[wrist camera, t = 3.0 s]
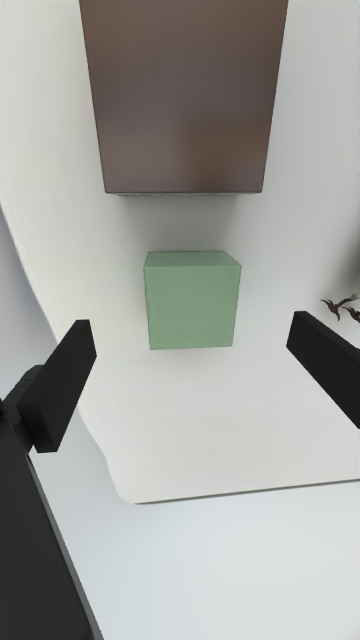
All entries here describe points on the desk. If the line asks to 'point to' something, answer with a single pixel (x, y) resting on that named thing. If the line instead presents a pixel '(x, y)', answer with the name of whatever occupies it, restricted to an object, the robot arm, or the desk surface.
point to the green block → (191, 299)
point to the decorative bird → (334, 309)
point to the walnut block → (183, 92)
